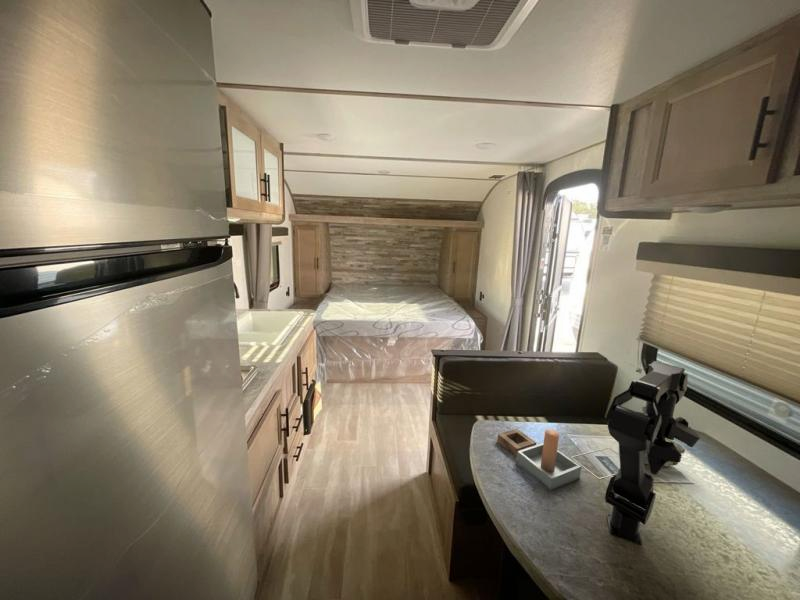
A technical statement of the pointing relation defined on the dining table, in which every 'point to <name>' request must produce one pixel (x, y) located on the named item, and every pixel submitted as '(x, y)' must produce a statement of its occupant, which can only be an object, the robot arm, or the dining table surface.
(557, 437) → the dowel
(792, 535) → the dining table surface
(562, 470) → the tray
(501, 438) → the socket block
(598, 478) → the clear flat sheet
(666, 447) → the robot arm
